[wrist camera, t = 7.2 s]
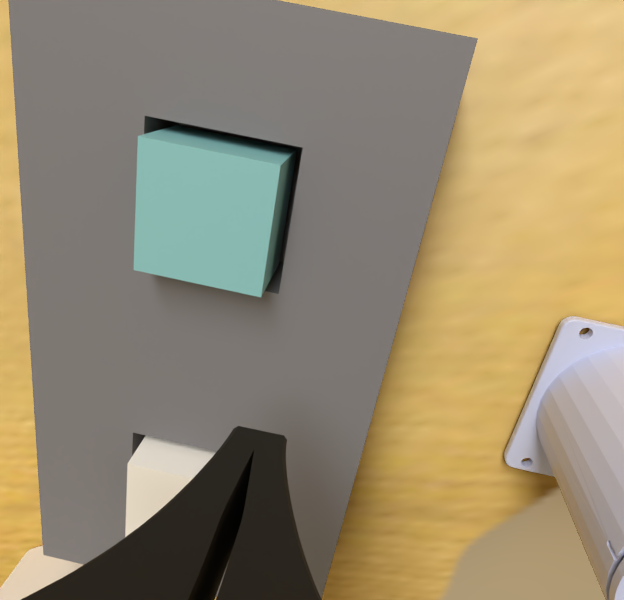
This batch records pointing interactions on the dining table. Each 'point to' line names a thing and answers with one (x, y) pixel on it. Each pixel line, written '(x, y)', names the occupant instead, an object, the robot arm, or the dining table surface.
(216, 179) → the teal key
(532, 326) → the dining table surface
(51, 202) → the panel
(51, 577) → the milk carton
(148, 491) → the white key
